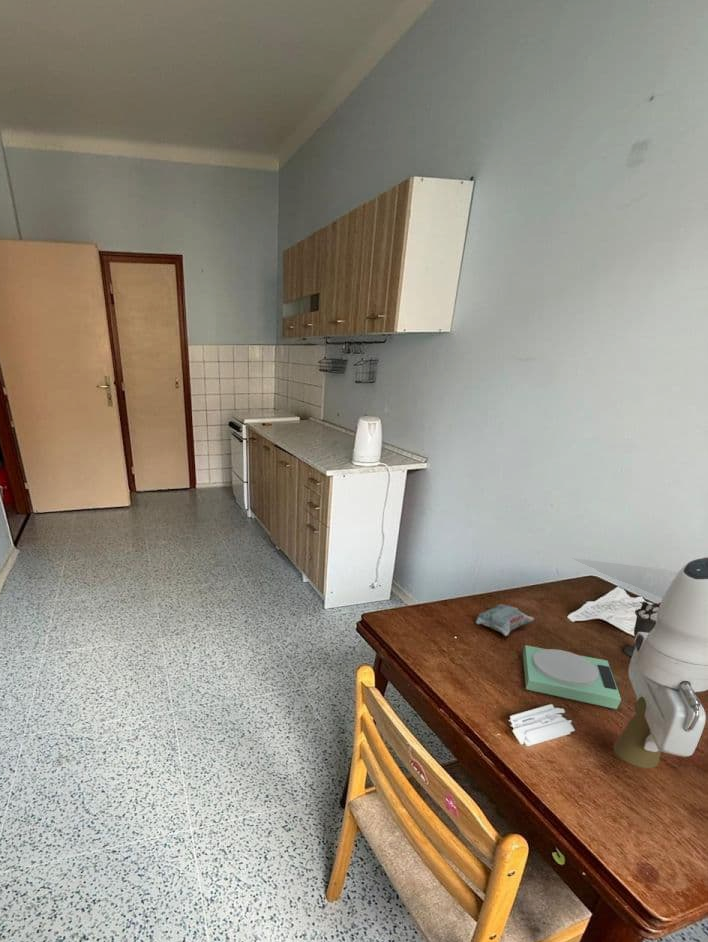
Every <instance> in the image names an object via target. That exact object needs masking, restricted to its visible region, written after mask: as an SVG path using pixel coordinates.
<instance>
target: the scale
mask: <svg viewBox="0 0 708 942" xmlns="http://www.w3.org/2000/svg"><path fill="white" fill-rule="evenodd" d="M522 662H523V663H522V664H523V671H524V673H523V674H524V685H525V690H527V691H531V692H536V693H540V694H546V695H550V696H555V697H559V698H564V699H567V700H568V699H569V700H573V701H578V702H581V703H587V704H591V705H596V706H600V707H604V708H609V709H615V710H618V708H619V706H620V704H621V702H622V698H621V695H620V692H619V689H618V685H617V684H616V683H617V682H616V680H615V677H614V674H613V672H612V669H611V667H610V664H609V661H608V660H606V659H601V658H596V657H590V656H585V655H581V654H580V655H579V654H576V653H574V652H572V651H571V652H570V651H568V650H563V649H556V648H555V649H554V648H549V649H548V648H542V647H539V646H533V645H532V646H531V645H527V644H525V645H524V649H523V652H522Z"/></svg>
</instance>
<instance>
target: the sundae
mask: <svg viewBox="0 0 708 942" xmlns="http://www.w3.org/2000/svg"><path fill="white" fill-rule="evenodd" d="M660 604H661V601H660V602H658V603H656V602H655V603H649V602H646V601H642V603H641V607H640V608H637V609H635V610H634V614H635V616H636V620H635V624H634V629H633V635H634V638H635V637H636V635H637V633H638V632H647V633H649V632H650V631H651V630H652V629H653V628H654V627H655V625H656V622H657V611H658V609H659V606H660ZM634 649H635V647H633V646H626V647H624V649H623V652H624V653H625V654H626V655H627V656H629V657H631V658H632V654H633V651H634Z"/></svg>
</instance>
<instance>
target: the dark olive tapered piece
mask: <svg viewBox="0 0 708 942" xmlns="http://www.w3.org/2000/svg"><path fill="white" fill-rule="evenodd" d="M633 710H634V713H635V715H634V714H633V715H632V717H631V718H630V721H629V722H628V723H627V724H626V726H625V728H624V729H623V731H622V732H621V733H620V735H619V736H618V738H617V739H616V741H615V742H614V744H613V748H612V749H613V751H614V753H615V754H616V756H618V757H619V758H620V759H622V760H623V761H624V762H626V763H628V764H630V765H632V766H635V767H638V768H643V769H653V768H655V767H658V765H659V762H660V760H661V755H662V752H661V751H657V752H652V751H648V750H645V749H644V746H643V743H642V740H643V739H644V736H645V735H648V736H649V735H650V734H651V733H650V728H649V726H648V723H647V721H646V718H645V711H646V702H645V699H644V698H643V697H640V698H639V699H638V700H637V701H636V700H635V703H634V709H633Z"/></svg>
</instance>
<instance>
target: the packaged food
mask: <svg viewBox="0 0 708 942" xmlns="http://www.w3.org/2000/svg"><path fill="white" fill-rule="evenodd" d="M519 609H520V608H519V607H514V606H511V605H507V604H503V603H499V604H498V605H496V606H494V607H492V608H490V609H487V610H485V611H482V612H480V613H479V614H478V615H477V617H476V621H475V623H476V625H483V626H485V627H487V628H489V629H491V630H493V631H495V632H498V633H501V635H503V636H505V637H508V636H509V635H510V633H511V632H512V631H513V630H515V629H518V628H519V627H521V626H524V625H527V624H529V623H530V622H533V621H534V620H535V617H534V616H530V615H527V614H526V613H524V612H523V611H521V610H519Z"/></svg>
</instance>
